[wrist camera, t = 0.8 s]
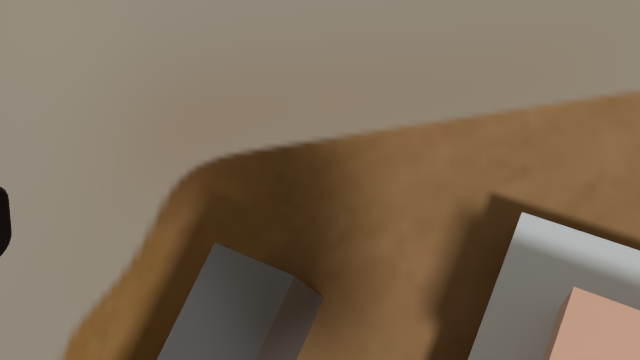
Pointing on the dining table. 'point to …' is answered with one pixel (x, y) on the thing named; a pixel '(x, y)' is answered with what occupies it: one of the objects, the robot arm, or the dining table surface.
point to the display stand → (562, 298)
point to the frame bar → (242, 312)
